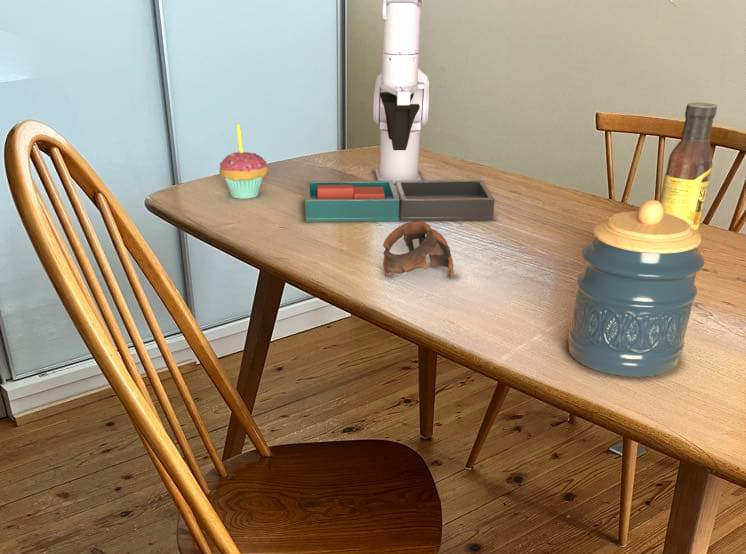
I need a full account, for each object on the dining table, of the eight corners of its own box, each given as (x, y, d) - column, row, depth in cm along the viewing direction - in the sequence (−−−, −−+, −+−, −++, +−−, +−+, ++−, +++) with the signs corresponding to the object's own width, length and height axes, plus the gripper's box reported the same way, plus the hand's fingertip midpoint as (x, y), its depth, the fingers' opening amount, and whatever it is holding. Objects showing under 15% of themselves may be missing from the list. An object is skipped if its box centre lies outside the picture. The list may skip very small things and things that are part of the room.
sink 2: (394, 201, 156) (395, 180, 154) (480, 200, 157) (482, 179, 155) (400, 221, 147) (401, 199, 145) (492, 220, 148) (494, 199, 146)
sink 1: (305, 201, 156) (304, 181, 154) (392, 201, 156) (392, 180, 154) (305, 222, 147) (305, 200, 145) (398, 221, 147) (399, 199, 145)
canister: (596, 324, 113) (623, 177, 103) (697, 352, 107) (736, 198, 96) (545, 358, 105) (569, 202, 95) (651, 390, 98) (688, 226, 88)
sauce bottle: (695, 255, 134) (730, 110, 122) (652, 252, 135) (682, 108, 123) (690, 242, 139) (723, 101, 127) (649, 239, 140) (677, 99, 128)
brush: (317, 203, 153) (317, 182, 151) (382, 203, 153) (382, 182, 151) (317, 211, 149) (317, 190, 147) (384, 211, 149) (384, 190, 147)
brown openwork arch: (464, 288, 124) (444, 242, 118) (401, 316, 127) (378, 272, 121) (449, 238, 132) (429, 193, 126) (389, 266, 134) (367, 222, 128)
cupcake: (214, 191, 161) (209, 118, 153) (259, 186, 163) (256, 114, 156) (230, 204, 154) (225, 129, 147) (277, 198, 157) (274, 124, 150)
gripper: (431, 59, 137) (426, 154, 145) (420, 45, 148) (416, 134, 156) (385, 59, 136) (382, 155, 144) (378, 45, 148) (375, 134, 156)
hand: (397, 144), depth 150 cm, fingers open, 7 cm apart
